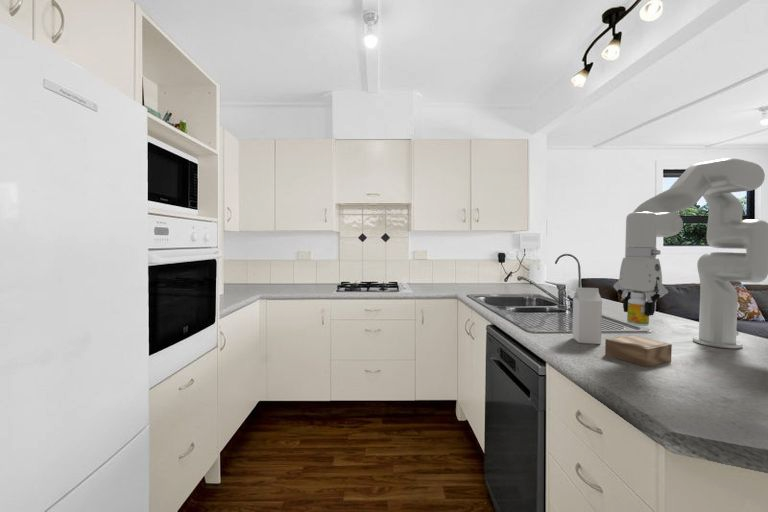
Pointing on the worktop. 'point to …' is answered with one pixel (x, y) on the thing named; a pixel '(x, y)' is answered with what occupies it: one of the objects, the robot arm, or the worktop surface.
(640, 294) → the supplement bottle
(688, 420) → the worktop surface
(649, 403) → the worktop surface
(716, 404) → the worktop surface
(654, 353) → the pedestal
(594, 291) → the milk carton
